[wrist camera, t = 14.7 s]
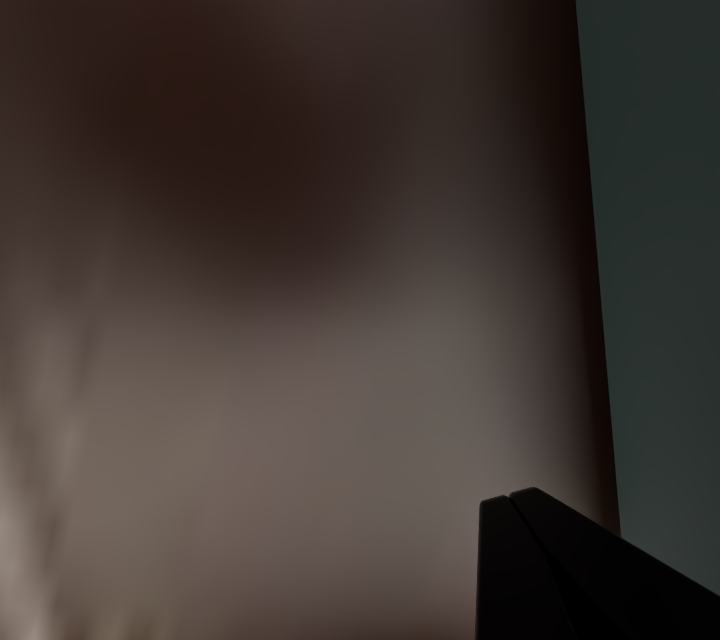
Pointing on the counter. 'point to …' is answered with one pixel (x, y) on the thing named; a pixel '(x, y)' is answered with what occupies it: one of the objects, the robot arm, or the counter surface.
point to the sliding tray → (659, 264)
